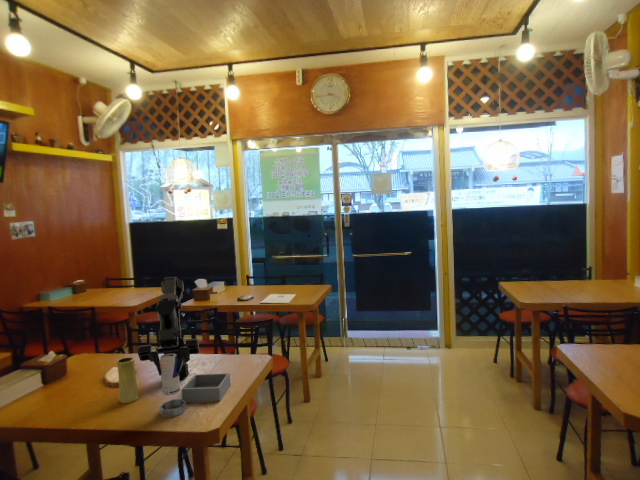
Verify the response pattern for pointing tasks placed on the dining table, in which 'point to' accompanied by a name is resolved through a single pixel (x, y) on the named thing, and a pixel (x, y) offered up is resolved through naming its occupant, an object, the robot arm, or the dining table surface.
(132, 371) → the vase
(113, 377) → the bread slice
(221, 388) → the bin
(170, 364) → the energy drink
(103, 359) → the dining table surface
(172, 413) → the metal collar
